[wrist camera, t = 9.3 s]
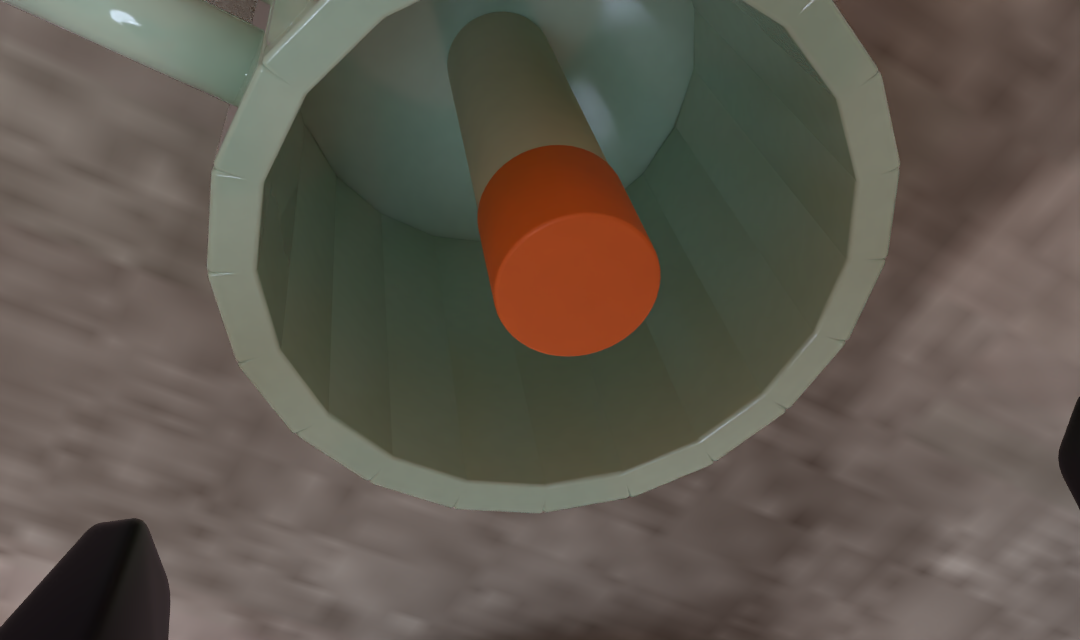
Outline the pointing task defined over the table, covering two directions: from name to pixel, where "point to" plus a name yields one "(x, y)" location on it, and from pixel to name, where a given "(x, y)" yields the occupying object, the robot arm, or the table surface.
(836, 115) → the green handled mug
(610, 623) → the table surface
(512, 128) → the marker
